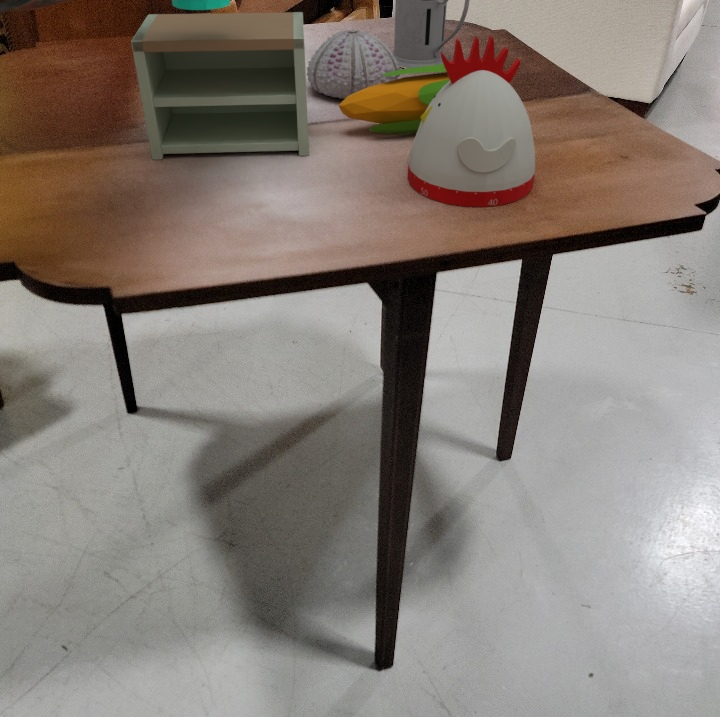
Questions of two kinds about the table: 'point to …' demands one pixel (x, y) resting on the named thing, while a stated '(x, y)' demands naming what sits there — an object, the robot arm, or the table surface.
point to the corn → (396, 100)
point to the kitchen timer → (474, 135)
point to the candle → (200, 4)
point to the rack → (223, 82)
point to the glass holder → (421, 31)
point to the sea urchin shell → (350, 64)
